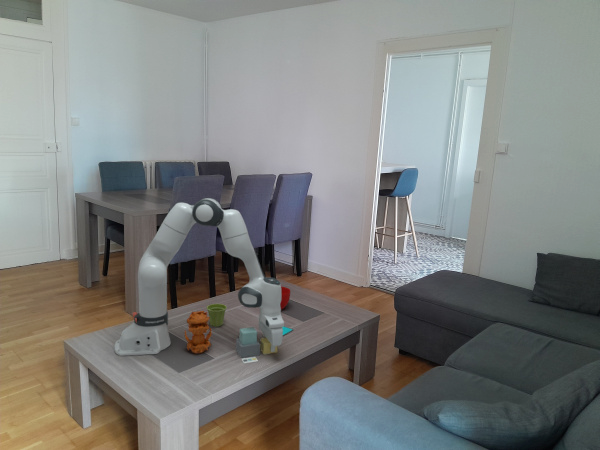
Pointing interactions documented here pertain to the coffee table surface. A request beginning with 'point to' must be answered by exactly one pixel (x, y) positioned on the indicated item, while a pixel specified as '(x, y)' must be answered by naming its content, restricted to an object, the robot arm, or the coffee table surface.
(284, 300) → the ceramic cup
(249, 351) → the tower base
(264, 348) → the brick mustard
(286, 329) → the smartphone
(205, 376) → the coffee table surface
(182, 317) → the coffee table surface
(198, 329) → the orange figurine
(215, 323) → the plant pot
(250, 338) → the brick teal
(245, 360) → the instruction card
